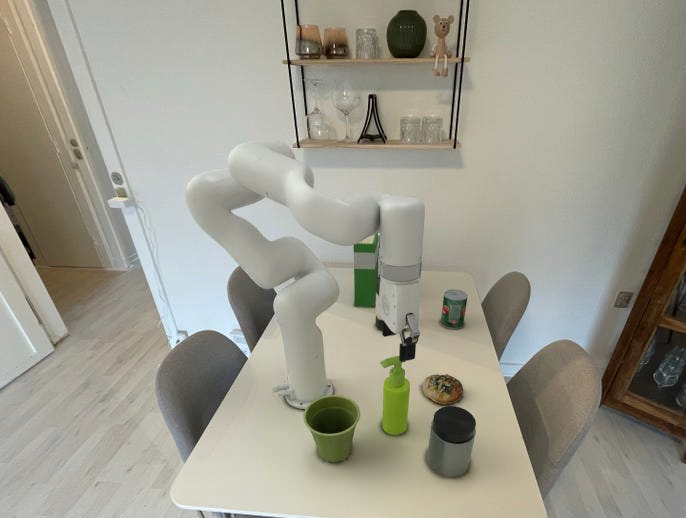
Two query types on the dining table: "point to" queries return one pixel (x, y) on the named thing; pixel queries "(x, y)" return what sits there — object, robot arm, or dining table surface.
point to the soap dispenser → (395, 397)
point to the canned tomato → (454, 309)
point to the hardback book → (366, 271)
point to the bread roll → (442, 388)
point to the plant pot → (332, 425)
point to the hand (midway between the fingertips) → (397, 346)
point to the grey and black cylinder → (451, 441)
